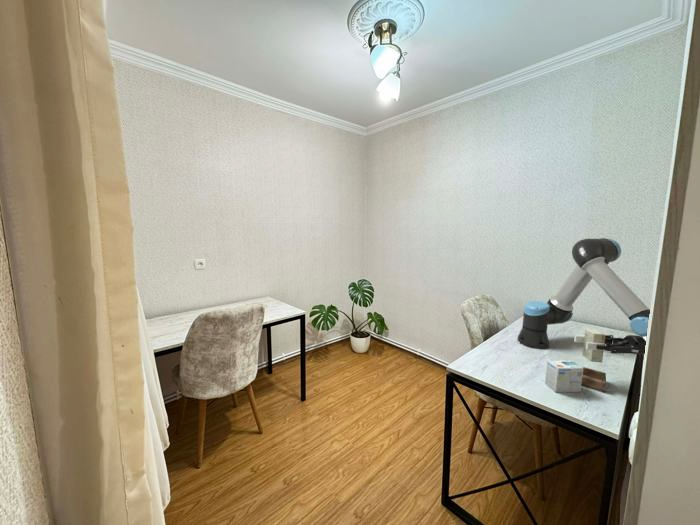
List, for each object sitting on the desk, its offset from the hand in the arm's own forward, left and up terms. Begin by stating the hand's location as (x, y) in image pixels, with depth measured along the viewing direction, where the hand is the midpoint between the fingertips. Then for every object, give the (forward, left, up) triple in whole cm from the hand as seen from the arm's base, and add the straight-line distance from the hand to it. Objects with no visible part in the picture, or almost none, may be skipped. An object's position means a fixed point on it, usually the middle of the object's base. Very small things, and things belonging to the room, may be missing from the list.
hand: (580, 342), depth 120 cm
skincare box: (+4, +3, -7) cm, 9 cm away
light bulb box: (-4, -10, -18) cm, 21 cm away
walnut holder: (+4, +3, -18) cm, 19 cm away
